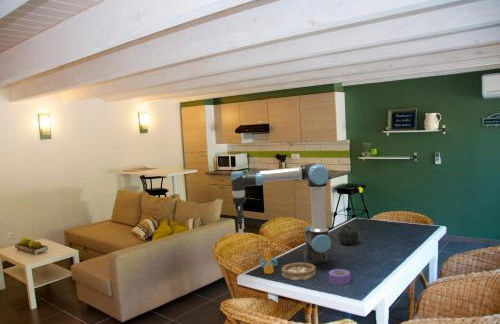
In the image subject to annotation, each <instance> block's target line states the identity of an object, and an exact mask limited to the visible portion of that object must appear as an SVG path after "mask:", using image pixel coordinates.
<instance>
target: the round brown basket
mask: <svg viewBox="0 0 500 324" xmlns="http://www.w3.org/2000/svg"><path fill="white" fill-rule="evenodd" d="M316 271H317V267H316V266H315V264H309V263H306V262H290V263H288V264H287V263H286V264H284V265H283V266H282V267H281V276H282V277H283V278H284V279H286V280H289V281H307V280H310V279H312V278H314V277H315V276H316V275H317V274H316Z"/></svg>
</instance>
